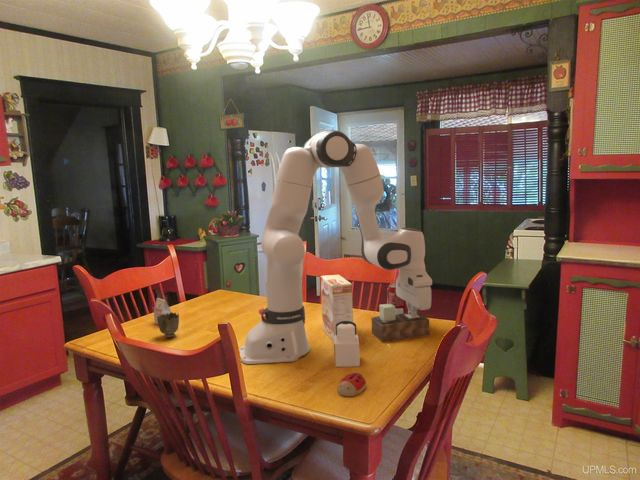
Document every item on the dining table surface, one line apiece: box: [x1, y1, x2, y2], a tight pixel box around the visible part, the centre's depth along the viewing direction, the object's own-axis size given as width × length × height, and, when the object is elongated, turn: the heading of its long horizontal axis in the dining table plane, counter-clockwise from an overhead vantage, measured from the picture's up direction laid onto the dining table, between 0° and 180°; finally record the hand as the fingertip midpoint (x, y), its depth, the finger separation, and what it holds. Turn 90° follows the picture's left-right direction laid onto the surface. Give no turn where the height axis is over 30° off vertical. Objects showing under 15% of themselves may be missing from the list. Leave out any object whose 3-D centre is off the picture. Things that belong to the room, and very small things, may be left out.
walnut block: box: [371, 311, 430, 343], centre depth 162 cm, size 17×9×6 cm, turn 105°
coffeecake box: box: [320, 274, 354, 343], centre depth 163 cm, size 15×7×20 cm, turn 14°
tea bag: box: [153, 297, 172, 325], centre depth 183 cm, size 4×7×10 cm, turn 45°
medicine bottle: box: [333, 321, 361, 368], centre depth 141 cm, size 7×7×12 cm
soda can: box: [386, 282, 407, 315], centre depth 182 cm, size 7×7×12 cm
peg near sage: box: [378, 303, 395, 321], centre depth 160 cm, size 4×4×6 cm
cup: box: [157, 311, 180, 339], centre depth 169 cm, size 8×7×8 cm
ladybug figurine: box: [337, 372, 367, 398], centre depth 124 cm, size 7×10×4 cm
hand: (412, 315), depth 163 cm, fingers closed, pressing on peg far cream
